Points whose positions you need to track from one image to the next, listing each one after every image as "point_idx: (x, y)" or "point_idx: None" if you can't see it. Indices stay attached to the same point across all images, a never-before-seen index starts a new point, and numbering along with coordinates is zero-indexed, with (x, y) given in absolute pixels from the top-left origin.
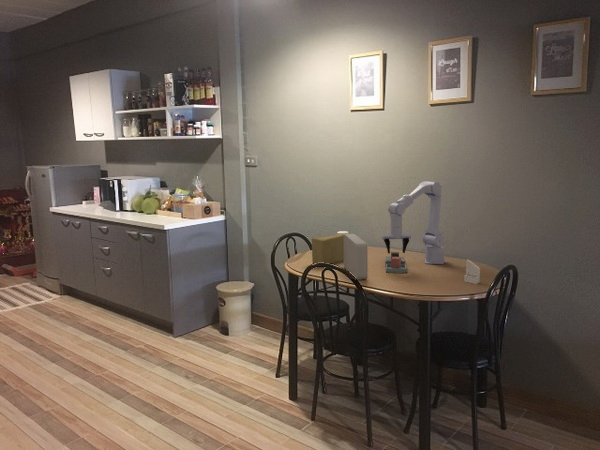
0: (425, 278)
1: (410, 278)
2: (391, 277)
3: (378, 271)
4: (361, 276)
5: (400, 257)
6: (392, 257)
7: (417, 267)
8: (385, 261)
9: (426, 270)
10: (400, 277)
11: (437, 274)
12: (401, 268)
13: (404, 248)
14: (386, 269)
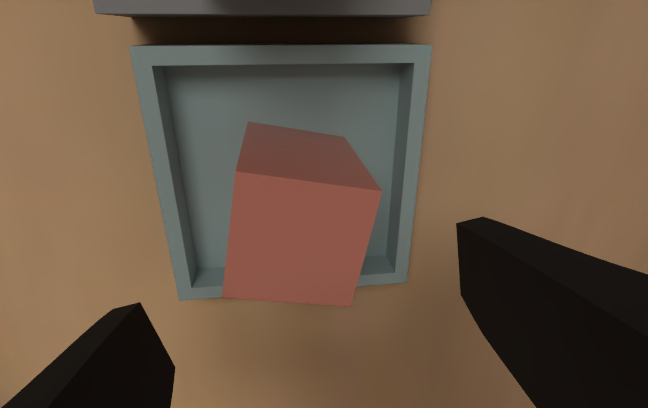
0: None
1: (405, 392)
2: (259, 397)
3: (97, 249)
4: None
5: (376, 209)
6: (234, 238)
7: (555, 13)
8: (98, 12)
9: (605, 146)
10: (331, 385)
11: (642, 265)
12: (354, 138)
13: (541, 394)
14: (188, 294)
